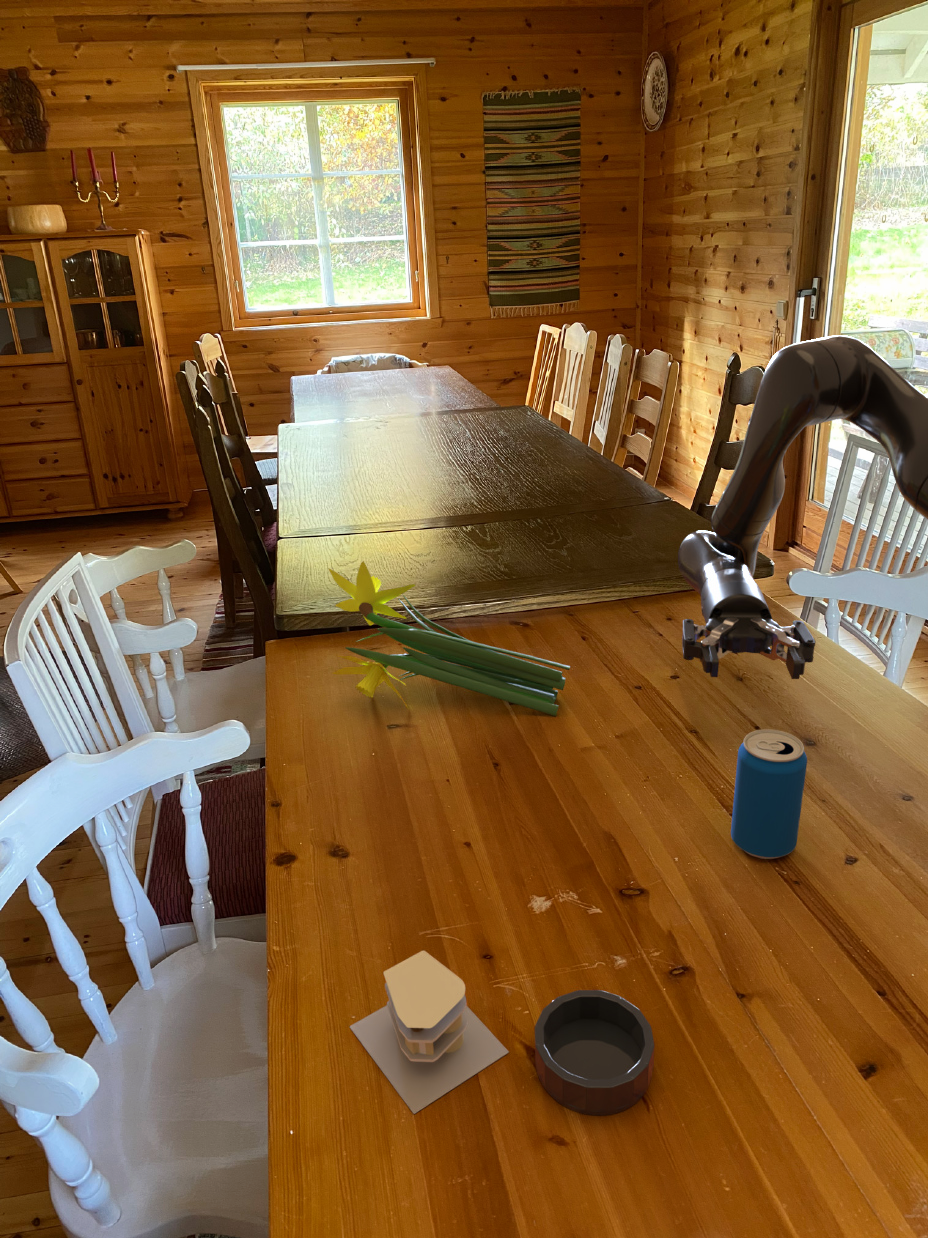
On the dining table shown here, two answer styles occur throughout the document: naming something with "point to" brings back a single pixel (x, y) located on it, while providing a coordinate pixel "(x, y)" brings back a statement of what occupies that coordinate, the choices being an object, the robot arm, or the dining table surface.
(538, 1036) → the bowl
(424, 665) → the daffodil flowers
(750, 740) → the beverage can
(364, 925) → the dining table surface
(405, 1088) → the stacked layers on plate
